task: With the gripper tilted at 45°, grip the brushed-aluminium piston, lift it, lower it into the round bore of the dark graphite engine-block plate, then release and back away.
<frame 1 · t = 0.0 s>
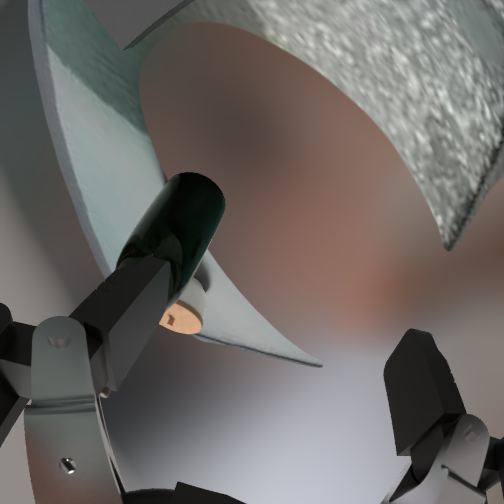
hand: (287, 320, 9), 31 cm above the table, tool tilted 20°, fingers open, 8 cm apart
lidded bowl: (187, 283, 66), on the table
dark wine bottle: (196, 196, 48), on the table
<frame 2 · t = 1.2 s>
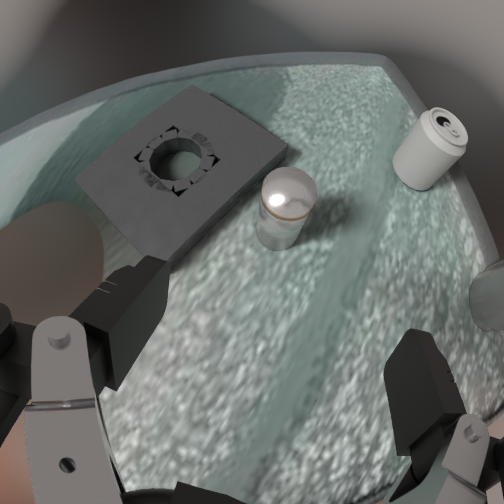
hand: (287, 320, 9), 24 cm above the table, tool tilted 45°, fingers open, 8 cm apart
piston: (276, 231, 37), on the table
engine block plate: (179, 170, 39), on the table
can: (410, 172, 41), on the table
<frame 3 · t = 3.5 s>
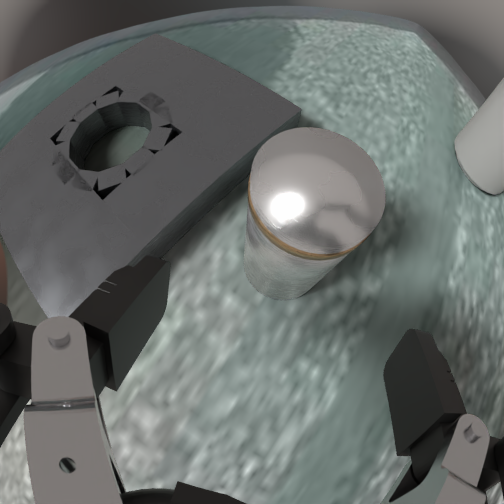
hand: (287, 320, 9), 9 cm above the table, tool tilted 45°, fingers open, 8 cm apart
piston: (282, 262, 20), on the table
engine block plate: (120, 156, 22), on the table
can: (475, 167, 24), on the table
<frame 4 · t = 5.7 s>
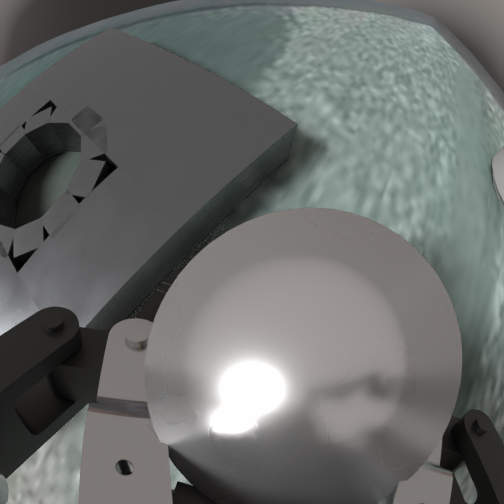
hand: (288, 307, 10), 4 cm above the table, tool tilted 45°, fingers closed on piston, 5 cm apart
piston: (263, 358, 13), on the table, touching gripper
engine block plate: (54, 195, 15), on the table
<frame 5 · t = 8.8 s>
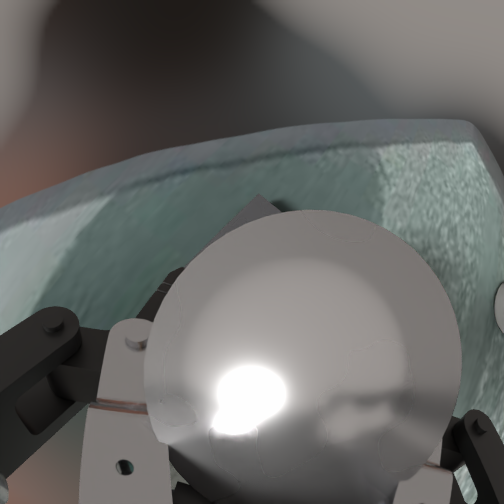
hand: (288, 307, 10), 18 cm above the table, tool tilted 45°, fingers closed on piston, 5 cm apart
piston: (263, 358, 13), point 14 cm above the table, touching gripper
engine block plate: (250, 351, 27), on the table
when the fingers open (6 cm above the table, at t = 12.2 s): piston drops 1 cm, resting in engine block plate.
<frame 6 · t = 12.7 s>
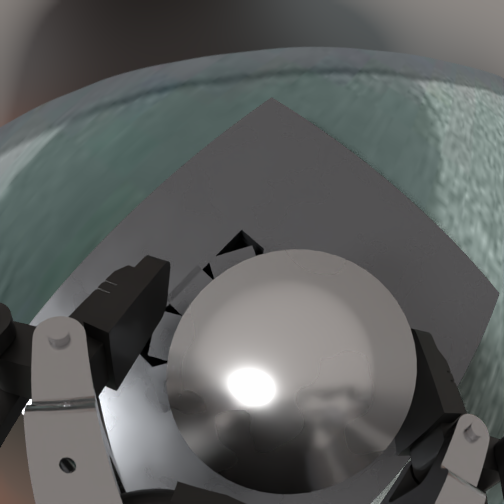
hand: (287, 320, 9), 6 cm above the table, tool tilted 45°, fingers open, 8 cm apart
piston: (260, 360, 15), resting in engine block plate
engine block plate: (260, 357, 15), on the table
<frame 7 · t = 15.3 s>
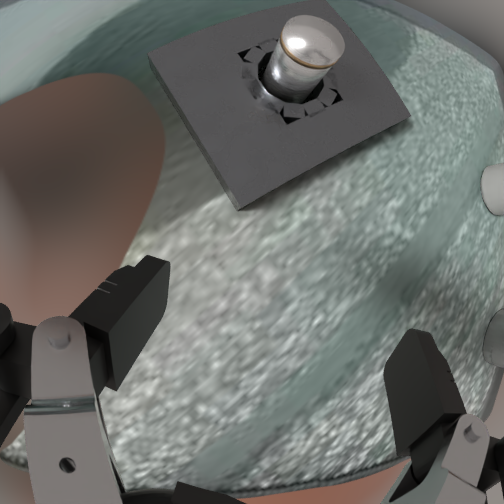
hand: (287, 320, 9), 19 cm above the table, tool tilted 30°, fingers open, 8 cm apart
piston: (283, 89, 29), resting in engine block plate
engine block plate: (283, 87, 29), on the table
can: (489, 190, 34), on the table
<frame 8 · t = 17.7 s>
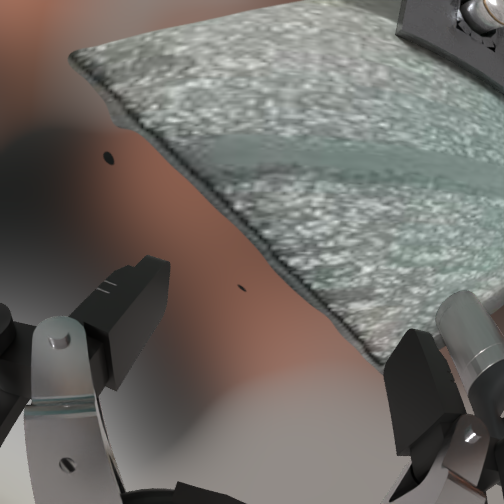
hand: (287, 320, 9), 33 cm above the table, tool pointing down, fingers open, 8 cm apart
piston: (468, 20, 24), resting in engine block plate
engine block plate: (469, 20, 24), on the table
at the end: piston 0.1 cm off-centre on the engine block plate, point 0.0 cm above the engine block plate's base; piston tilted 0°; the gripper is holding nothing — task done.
